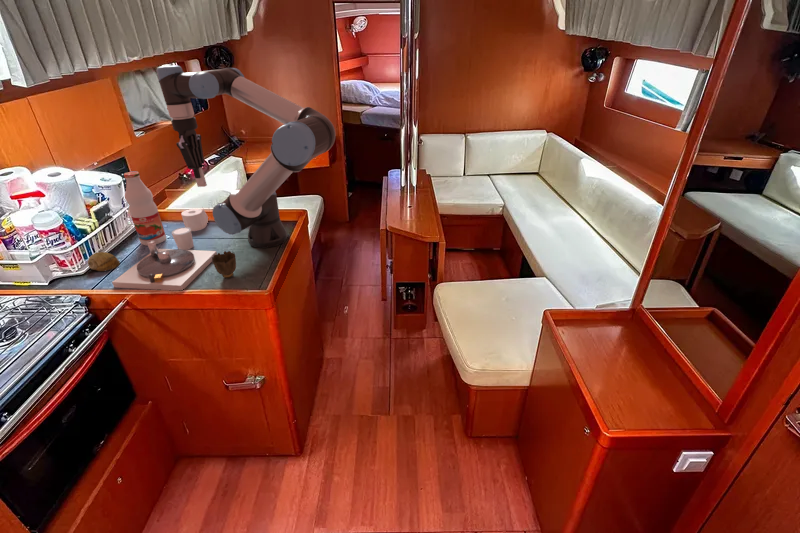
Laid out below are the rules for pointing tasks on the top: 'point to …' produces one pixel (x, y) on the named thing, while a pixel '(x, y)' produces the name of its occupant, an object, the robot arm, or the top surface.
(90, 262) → the seashell
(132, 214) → the fruit juice
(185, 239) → the pale pink cylinder
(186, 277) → the base plate
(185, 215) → the toilet paper
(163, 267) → the flange plate
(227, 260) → the cup
